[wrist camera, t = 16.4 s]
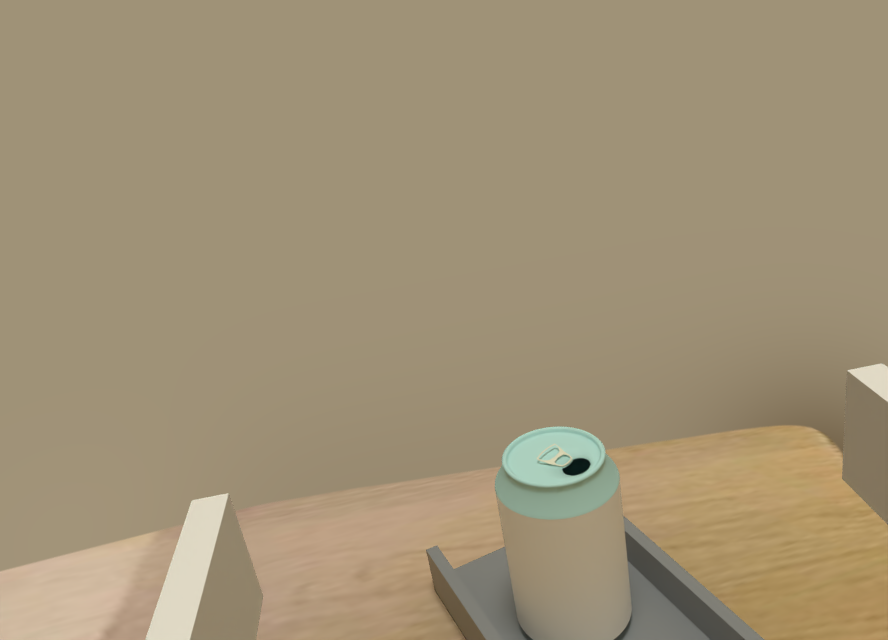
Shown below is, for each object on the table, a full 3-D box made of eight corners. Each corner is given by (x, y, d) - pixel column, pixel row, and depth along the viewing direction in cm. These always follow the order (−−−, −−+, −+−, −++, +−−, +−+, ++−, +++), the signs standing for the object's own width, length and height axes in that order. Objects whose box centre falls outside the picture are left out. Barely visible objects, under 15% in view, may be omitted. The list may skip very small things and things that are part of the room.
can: (627, 572, 51) (612, 414, 46) (638, 659, 45) (622, 487, 40) (519, 576, 52) (494, 424, 47) (515, 662, 46) (486, 495, 41)
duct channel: (599, 848, 36) (592, 799, 35) (434, 589, 54) (426, 549, 52) (804, 725, 40) (805, 676, 39) (589, 520, 58) (584, 481, 56)
